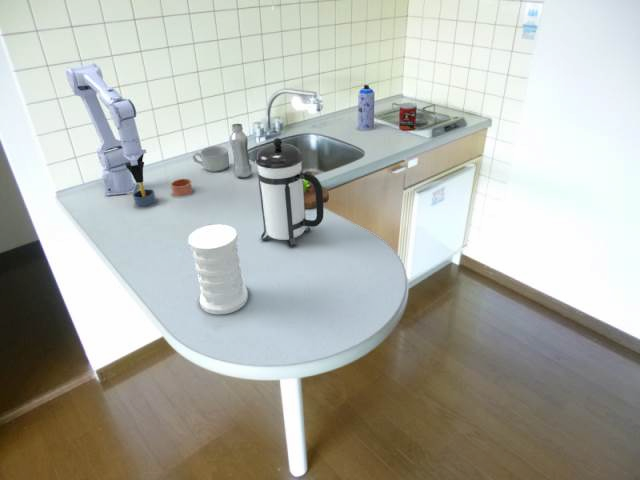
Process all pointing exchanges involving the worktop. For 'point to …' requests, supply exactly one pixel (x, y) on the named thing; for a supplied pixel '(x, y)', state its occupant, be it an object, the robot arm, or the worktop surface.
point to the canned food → (407, 116)
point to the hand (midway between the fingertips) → (139, 178)
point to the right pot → (181, 187)
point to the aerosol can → (366, 109)
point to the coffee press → (285, 192)
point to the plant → (312, 193)
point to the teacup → (213, 158)
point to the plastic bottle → (240, 151)
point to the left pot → (144, 198)
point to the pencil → (142, 189)
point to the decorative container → (218, 268)
